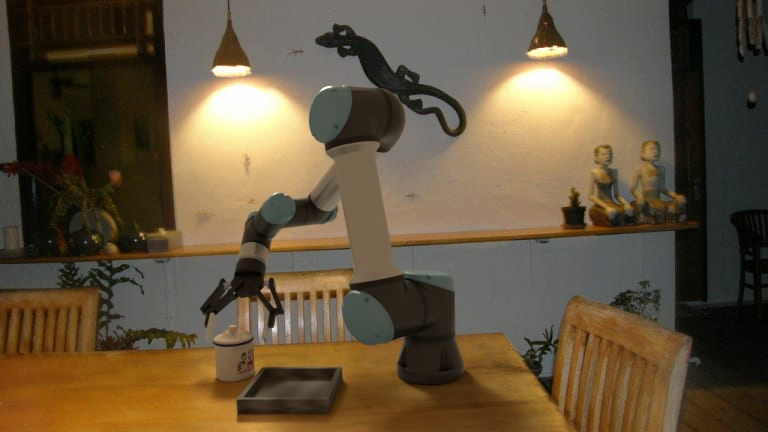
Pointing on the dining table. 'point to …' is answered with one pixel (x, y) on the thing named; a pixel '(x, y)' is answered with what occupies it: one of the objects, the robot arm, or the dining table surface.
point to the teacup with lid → (234, 355)
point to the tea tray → (291, 391)
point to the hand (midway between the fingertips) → (236, 340)
